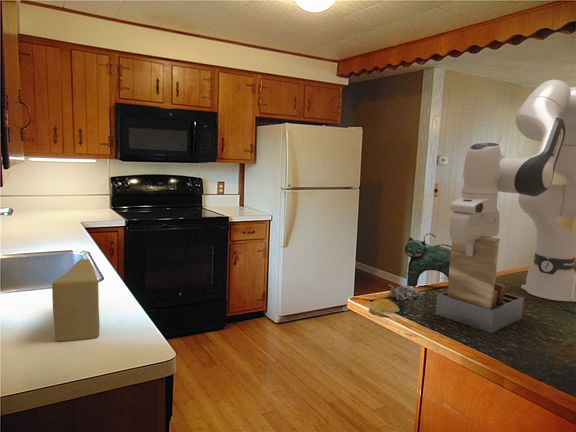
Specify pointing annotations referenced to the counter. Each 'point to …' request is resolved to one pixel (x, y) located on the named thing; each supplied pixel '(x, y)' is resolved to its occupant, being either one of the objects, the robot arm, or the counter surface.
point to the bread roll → (383, 307)
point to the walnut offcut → (499, 291)
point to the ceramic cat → (426, 259)
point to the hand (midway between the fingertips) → (473, 254)
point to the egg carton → (407, 291)
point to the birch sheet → (474, 272)
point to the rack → (481, 312)
